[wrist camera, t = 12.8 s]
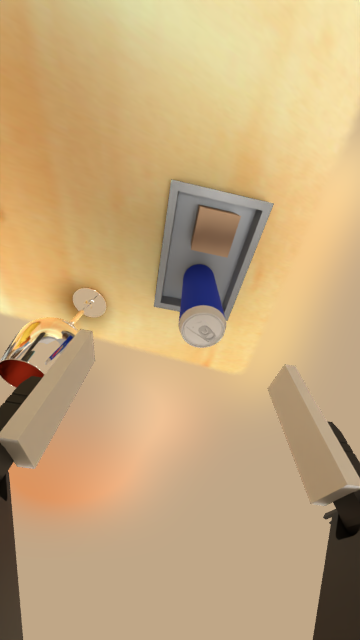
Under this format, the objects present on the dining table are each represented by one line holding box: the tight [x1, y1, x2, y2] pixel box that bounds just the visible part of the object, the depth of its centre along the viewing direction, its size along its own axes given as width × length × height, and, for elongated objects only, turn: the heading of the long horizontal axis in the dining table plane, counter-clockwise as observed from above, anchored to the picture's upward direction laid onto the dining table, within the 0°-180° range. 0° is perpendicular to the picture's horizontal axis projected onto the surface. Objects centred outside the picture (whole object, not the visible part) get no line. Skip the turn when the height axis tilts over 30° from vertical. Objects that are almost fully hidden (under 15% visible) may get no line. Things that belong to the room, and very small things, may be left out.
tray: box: [154, 179, 274, 321], centre depth 31 cm, size 18×13×4 cm
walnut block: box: [191, 204, 241, 258], centre depth 27 cm, size 5×5×5 cm
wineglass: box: [0, 288, 107, 388], centre depth 30 cm, size 8×8×18 cm
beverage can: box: [179, 264, 226, 348], centre depth 27 cm, size 5×5×15 cm
